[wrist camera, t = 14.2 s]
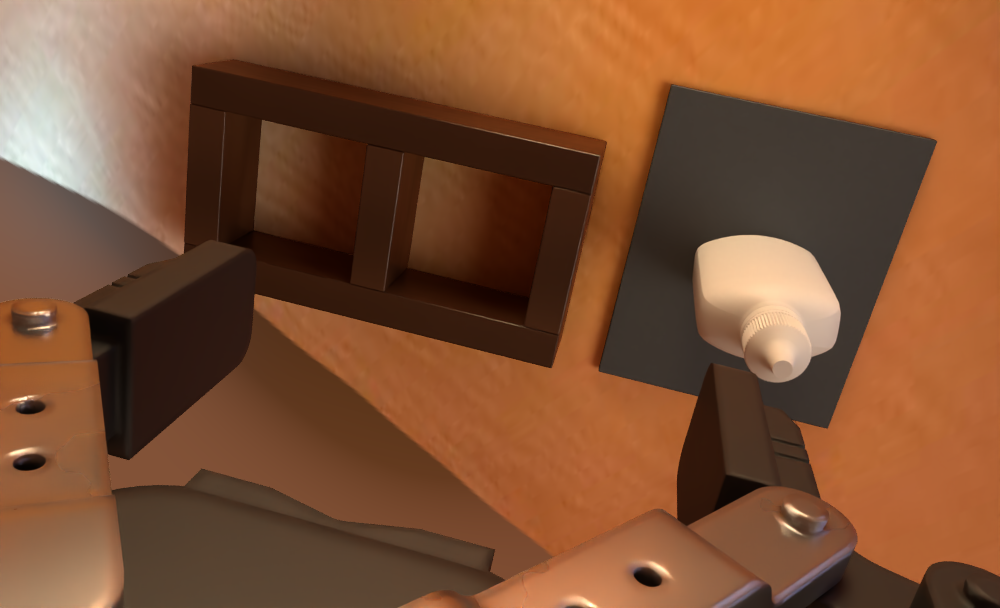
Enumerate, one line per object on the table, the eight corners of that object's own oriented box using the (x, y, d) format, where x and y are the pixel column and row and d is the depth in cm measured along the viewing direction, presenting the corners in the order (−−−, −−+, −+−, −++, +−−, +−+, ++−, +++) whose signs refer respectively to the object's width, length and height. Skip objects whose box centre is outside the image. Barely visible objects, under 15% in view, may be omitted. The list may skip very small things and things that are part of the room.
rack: (232, 58, 42) (191, 65, 39) (607, 141, 40) (601, 155, 37) (221, 253, 46) (182, 275, 43) (561, 337, 44) (551, 368, 41)
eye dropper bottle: (772, 332, 42) (810, 454, 31) (677, 272, 42) (680, 373, 30) (829, 262, 40) (890, 364, 29) (730, 199, 40) (753, 278, 29)
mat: (671, 84, 39) (671, 85, 39) (934, 139, 38) (937, 141, 37) (599, 368, 45) (598, 371, 44) (826, 425, 43) (827, 429, 43)
